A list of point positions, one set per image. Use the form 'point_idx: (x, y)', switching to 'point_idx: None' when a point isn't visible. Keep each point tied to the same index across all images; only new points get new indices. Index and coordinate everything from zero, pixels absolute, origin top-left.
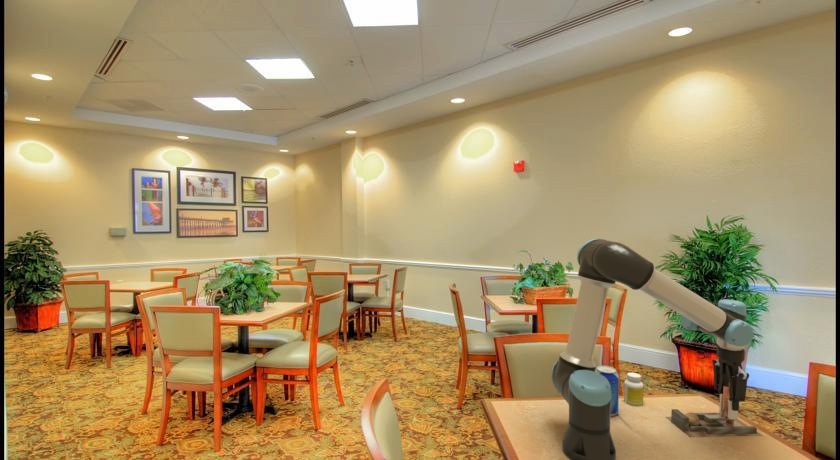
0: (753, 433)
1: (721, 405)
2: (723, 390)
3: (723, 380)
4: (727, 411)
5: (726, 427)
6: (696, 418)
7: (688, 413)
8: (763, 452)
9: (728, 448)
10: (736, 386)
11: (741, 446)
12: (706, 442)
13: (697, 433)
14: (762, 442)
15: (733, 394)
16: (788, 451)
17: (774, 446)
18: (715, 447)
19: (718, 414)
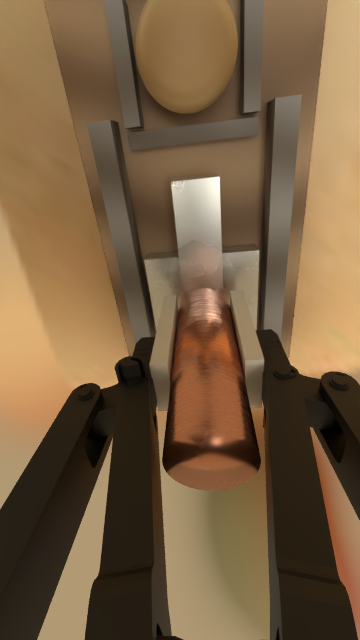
0: None
1: (234, 317)
2: (223, 395)
3: (272, 495)
4: (183, 314)
5: (125, 248)
6: (144, 63)
7: (192, 3)
8: (35, 303)
9: (21, 177)
10: (36, 511)
11: (59, 249)
12: (50, 82)
13: (93, 48)
14: (111, 342)
15: (116, 415)
16: (67, 378)
17: (90, 360)
18: (9, 107)
19: (265, 293)
